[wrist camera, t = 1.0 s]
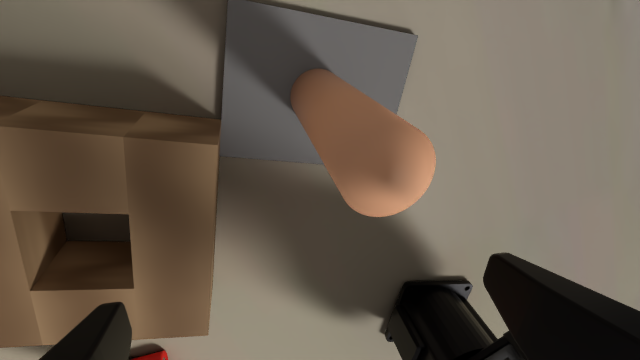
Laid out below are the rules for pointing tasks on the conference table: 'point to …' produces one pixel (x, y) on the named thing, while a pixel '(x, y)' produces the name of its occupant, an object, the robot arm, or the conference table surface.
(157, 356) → the tow hook
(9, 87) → the conference table surface
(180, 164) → the socket block
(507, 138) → the conference table surface
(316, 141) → the peg
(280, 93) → the mat
